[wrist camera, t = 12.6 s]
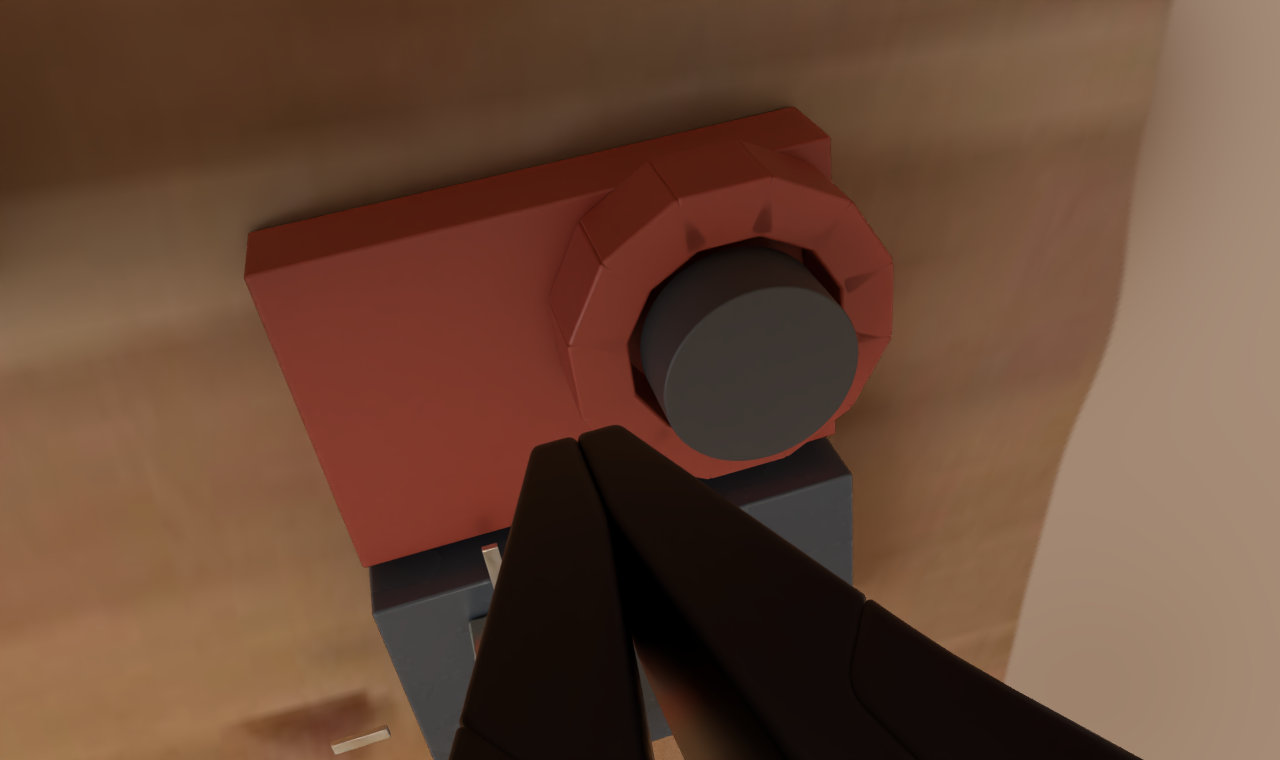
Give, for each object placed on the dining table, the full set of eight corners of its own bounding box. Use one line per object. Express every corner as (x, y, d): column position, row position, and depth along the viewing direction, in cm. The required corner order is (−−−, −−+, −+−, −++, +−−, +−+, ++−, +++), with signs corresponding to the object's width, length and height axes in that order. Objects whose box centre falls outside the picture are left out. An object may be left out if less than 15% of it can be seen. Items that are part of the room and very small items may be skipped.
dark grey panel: (381, 762, 31) (388, 858, 28) (266, 520, 25) (262, 614, 22) (813, 627, 33) (856, 704, 30) (804, 373, 27) (856, 444, 24)
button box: (359, 514, 25) (367, 632, 22) (238, 211, 20) (226, 307, 17) (820, 387, 27) (889, 479, 24) (812, 80, 22) (898, 145, 19)
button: (651, 433, 22) (675, 483, 20) (626, 272, 19) (652, 317, 18) (824, 385, 22) (859, 432, 21) (820, 223, 20) (859, 263, 19)
